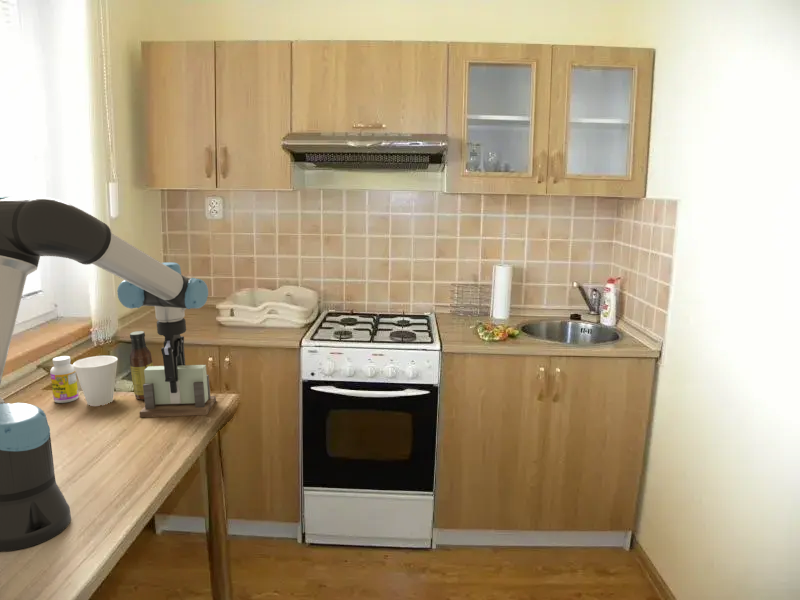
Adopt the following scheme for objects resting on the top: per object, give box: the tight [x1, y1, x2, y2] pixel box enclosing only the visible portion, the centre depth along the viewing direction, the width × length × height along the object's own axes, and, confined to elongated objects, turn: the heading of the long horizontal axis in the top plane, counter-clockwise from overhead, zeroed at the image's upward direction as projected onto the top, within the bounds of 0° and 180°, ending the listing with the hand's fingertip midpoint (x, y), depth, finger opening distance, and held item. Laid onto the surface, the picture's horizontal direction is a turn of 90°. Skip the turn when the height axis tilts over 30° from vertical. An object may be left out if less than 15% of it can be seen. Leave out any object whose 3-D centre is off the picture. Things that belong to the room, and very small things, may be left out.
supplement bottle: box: [49, 355, 80, 404], centre depth 192 cm, size 7×7×13 cm
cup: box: [72, 355, 119, 407], centre depth 190 cm, size 12×12×12 cm
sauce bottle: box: [129, 330, 154, 401], centre depth 193 cm, size 7×6×20 cm
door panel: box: [144, 364, 209, 404], centre depth 183 cm, size 4×16×10 cm, turn 92°
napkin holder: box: [139, 374, 217, 418], centre depth 184 cm, size 11×18×8 cm, turn 93°
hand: (178, 400), depth 184 cm, fingers closed on door panel, 3 cm apart
